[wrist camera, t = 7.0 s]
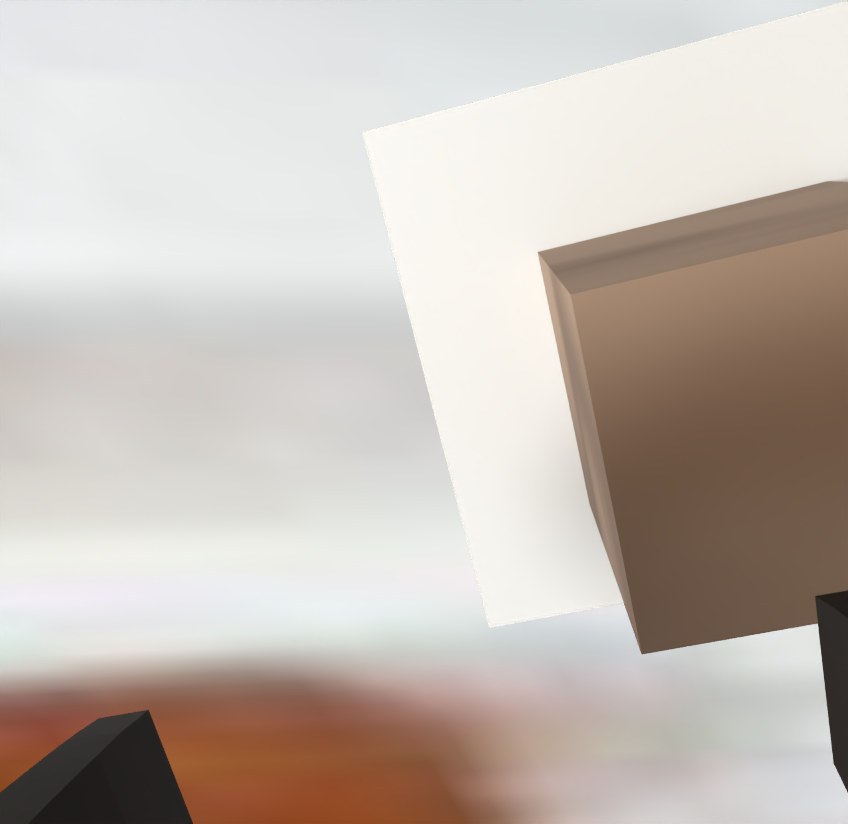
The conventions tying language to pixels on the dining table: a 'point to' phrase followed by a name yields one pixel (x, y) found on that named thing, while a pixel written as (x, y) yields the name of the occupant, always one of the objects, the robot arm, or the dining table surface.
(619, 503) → the walnut cube
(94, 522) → the dining table surface
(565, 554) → the base block
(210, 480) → the dining table surface
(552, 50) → the dining table surface
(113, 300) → the dining table surface
